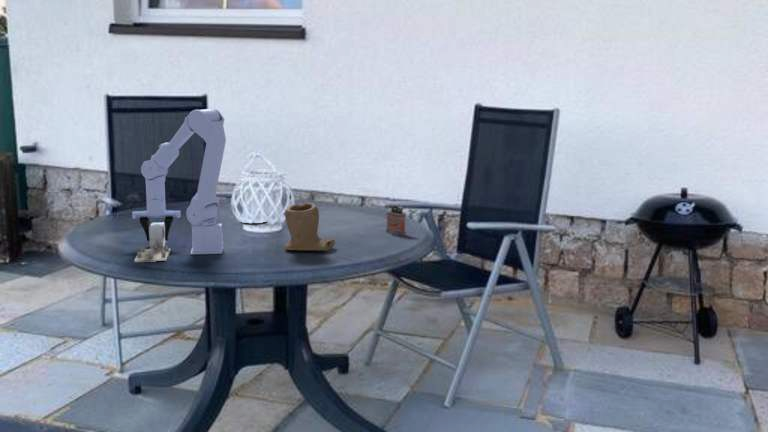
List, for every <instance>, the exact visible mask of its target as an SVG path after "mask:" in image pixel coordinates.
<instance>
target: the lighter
mask: <svg viewBox="0 0 768 432" xmlns="http://www.w3.org/2000/svg"><path fill="white" fill-rule="evenodd" d="M388 209H391V210H386V230H385V232H386V233H387V234H391V235H394V236H395V235H396V236H406V215H407V213H406V212H403V211H404V207H403V206H400V204H397V205H395V204H392V203H390V204H389V203H388Z"/></svg>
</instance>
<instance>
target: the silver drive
mask: <svg viewBox="0 0 768 432" xmlns="http://www.w3.org/2000/svg"><path fill="white" fill-rule="evenodd" d="M149 240H150V241H149V249H153V245H154V244H157V249H164V246H166V244H165V243H167V241H165V222H164V221H163V222H151V224H149Z"/></svg>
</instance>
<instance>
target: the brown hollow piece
mask: <svg viewBox="0 0 768 432" xmlns="http://www.w3.org/2000/svg"><path fill="white" fill-rule="evenodd" d="M284 217H285V223H286V227H287V230H288V231H289V233H290V237H291V238H290V241H288V242H286V243H285V244H284V248H285V249H286V250H289V251H301V252H304V251H306V252H329V251H330V250H331V249H332V248H333V247H334V245H335V244H336V239H334V238H333V239H332V238H331V239H330V238H322V237H321V238H320V237H319V235H318V230H319V221H320V213H319V209H318V207H317V205H315V204H314V203H311V202H305V203H302V204H298V203H296V204H295V203H294V204H291V205H290V206H288V207H287V208H286V209H285V211H284Z"/></svg>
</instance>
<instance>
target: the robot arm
mask: <svg viewBox="0 0 768 432" xmlns="http://www.w3.org/2000/svg"><path fill="white" fill-rule="evenodd" d="M224 124H225V117H224V116H223V115H222V114H221V112H220V111H219V110H218V109H217V108H215V107H210V108H207V109H206V108H205V109H204V108H203V109H193V110H192V111H190V112H189V114H188V115H187V116H186V117H184V122H183V123H182V124H181V126H180V127H179V128H178V130H177V131H176V133H175V134H174V136H173V137H172V138H171V140H170V141H169V142H167V141H166V142H164V143H160V144H159V146H158V150H157V151H156V152H155V153H154V154H153V155H151V156H150V160H149V159H148V160H145V161H143V163H142V165H141V167H140V172H141V174H142V177H144V179H145V198H146V199H145V200H146V210H141V211H140V210H139V211H137V210H136V211H132V212H131V215H132V219H133V220H134V219H139V223H140V225H141V227H142V229H143V232H144V233H145V237H146V241H147V242H150V240H149V227H150V219H155V218H156V219H158V218H164V219H163V220H164V221H163V222H165V241H166V242H167V241H168V240H169V233H170V229H171V226H172V223H173V221H174V218H177V219H178V218H179V219H180V218H181V210H167V209H166V206H167V205H166V187H165V186H166V185H165V182H166V177H167V175H168V172H169V167H170V166H171V165H172V164H173V163H174V162H175V161H176V159H177V158H178V157H179V155H180V148H181V147H183V145H184V144H185V143H187V141H188V140H189V139H190V138H191V137H192V136H193V135H194V134H195V133H196V134H197V135H198V136H199V137H201V138H202V139H203V141H204V142H205V149H204V154H203V160H202V164H201V165H202V166H201V171H200V174H199V181H198V185H197V192H196V193H195V195H194V196H192V198H191V201H190V205H189V206H188V207H187V208H186V211H185V215H186V218H187V221H189V223H190V226H191V242H192V243H191V244H192V245H191V251H190V254H189V255H218V254H219V255H220V254H223V250H224V249H223V248H224V246H225V245H224V244H225V242H224V241H223V240H224V238H223V223H221V222H219V223H217V219H218V218H219V215H220V211H221V209H220V198H219V197H218V196H217V194H216V193H217V189H218V188H217V187H218V184H219V183H218V182H219V178H220V172H221V167H222V163H223V158H224V154H225V148H226V147H225V145H226V141H227V139H226V133H225V127H224Z"/></svg>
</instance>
